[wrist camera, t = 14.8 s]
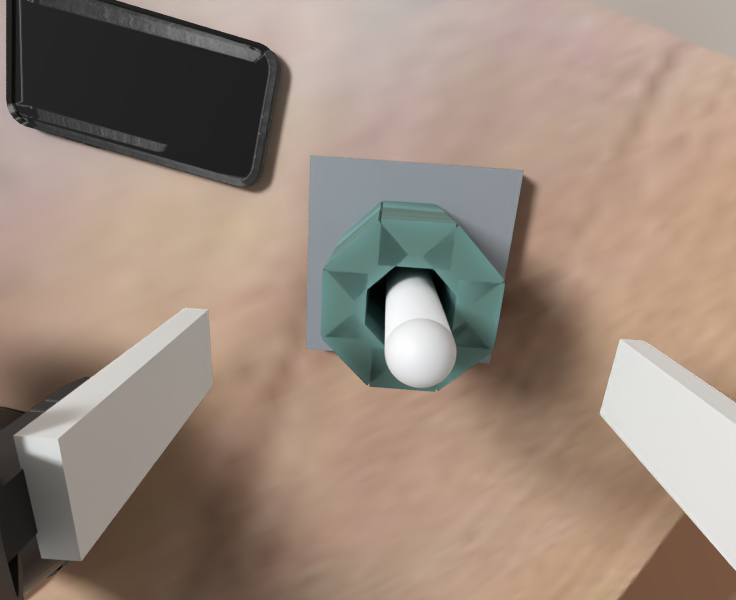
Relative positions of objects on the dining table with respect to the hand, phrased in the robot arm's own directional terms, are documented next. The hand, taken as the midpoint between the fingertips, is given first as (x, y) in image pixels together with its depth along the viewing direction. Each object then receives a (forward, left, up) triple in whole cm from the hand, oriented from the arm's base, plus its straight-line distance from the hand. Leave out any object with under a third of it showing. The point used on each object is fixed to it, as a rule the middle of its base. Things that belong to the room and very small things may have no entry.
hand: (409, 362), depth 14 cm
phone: (-16, +9, -15) cm, 23 cm away
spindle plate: (0, 0, -14) cm, 14 cm away
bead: (0, 0, -13) cm, 13 cm away
